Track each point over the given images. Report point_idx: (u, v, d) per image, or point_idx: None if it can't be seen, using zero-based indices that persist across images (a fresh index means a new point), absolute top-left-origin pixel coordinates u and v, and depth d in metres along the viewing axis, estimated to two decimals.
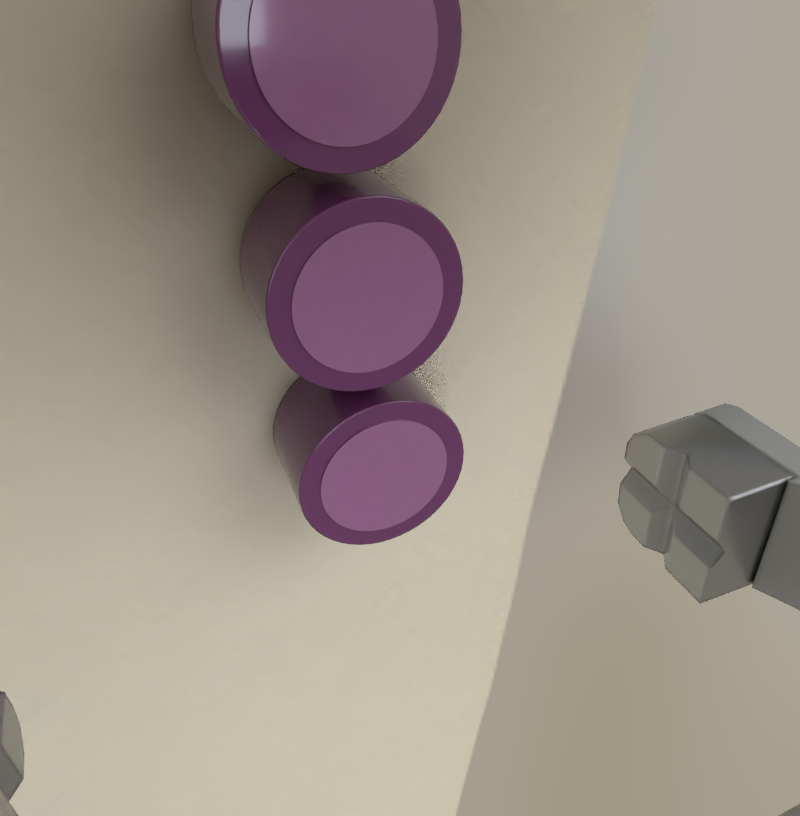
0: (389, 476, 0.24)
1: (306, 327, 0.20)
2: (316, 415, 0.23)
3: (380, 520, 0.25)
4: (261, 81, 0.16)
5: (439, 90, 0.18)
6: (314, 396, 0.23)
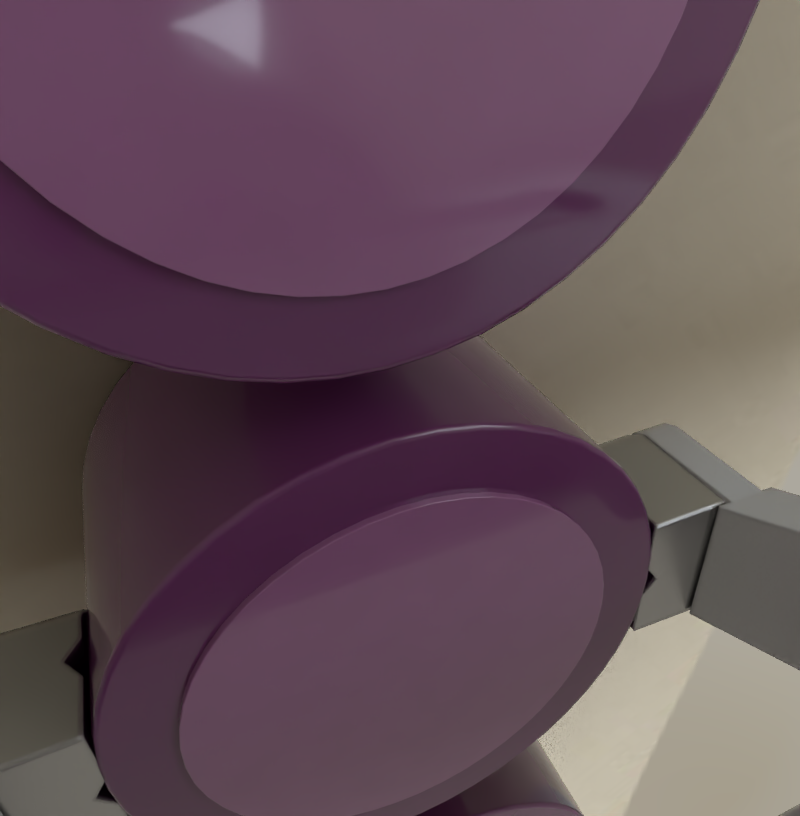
0: None
1: (231, 765, 0.07)
2: None
3: None
4: None
5: (689, 84, 0.05)
6: None
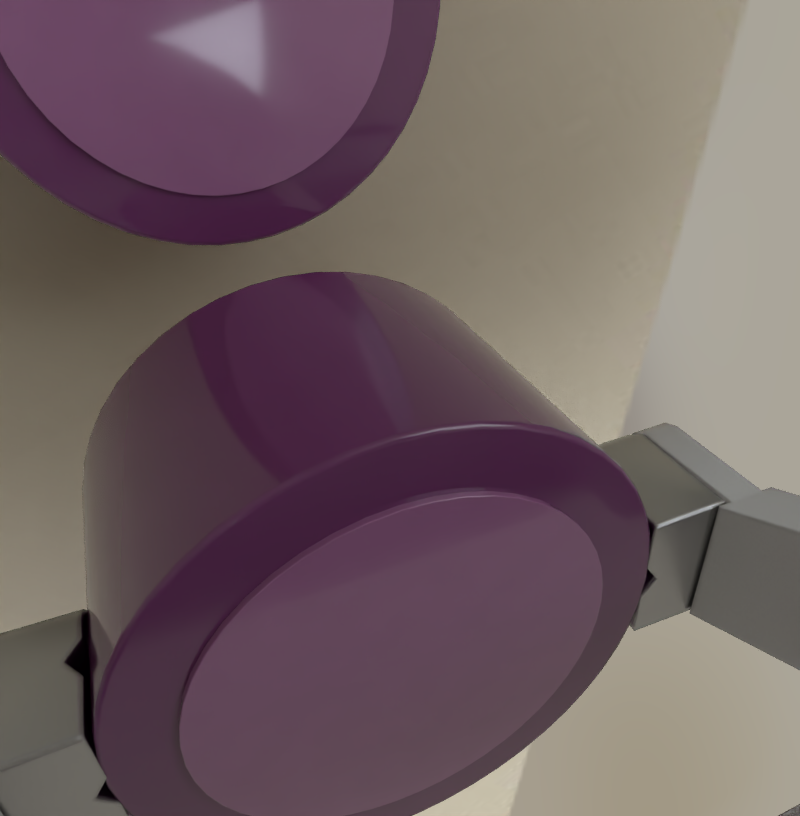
0: None
1: (231, 763, 0.07)
2: None
3: None
4: (16, 64, 0.08)
5: (400, 89, 0.09)
6: None
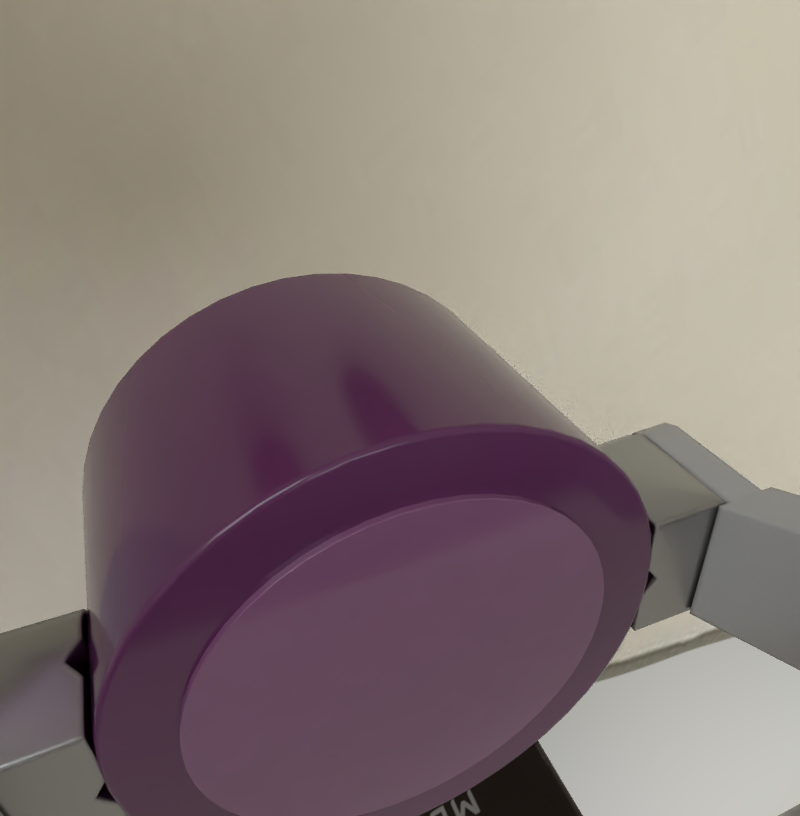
0: None
1: (232, 765, 0.07)
2: None
3: None
4: None
5: None
6: None
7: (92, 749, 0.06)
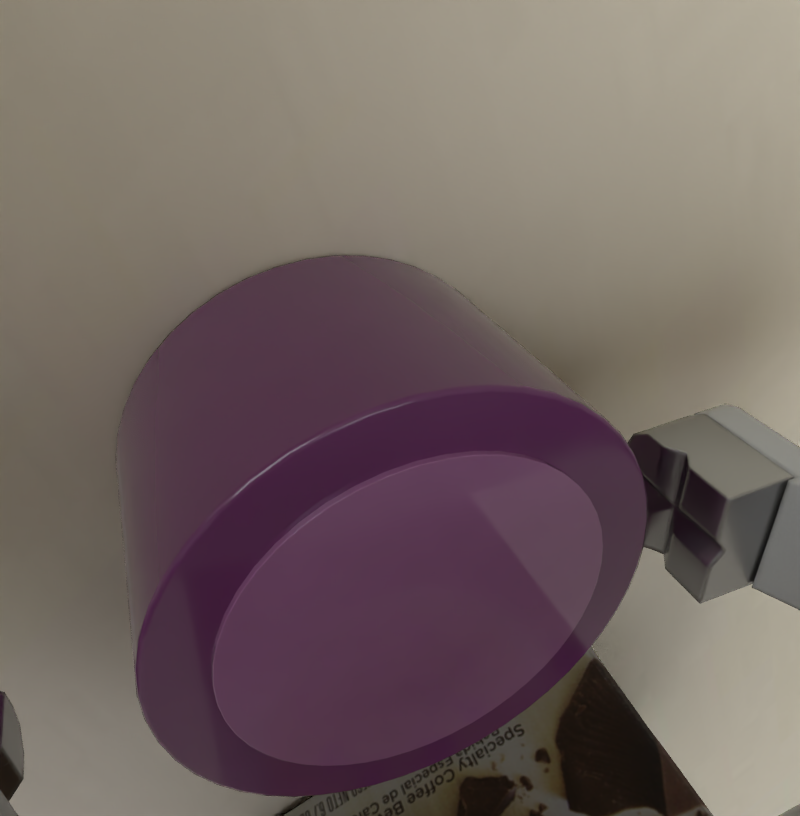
0: None
1: (258, 704, 0.07)
2: None
3: None
4: None
5: None
6: None
7: None
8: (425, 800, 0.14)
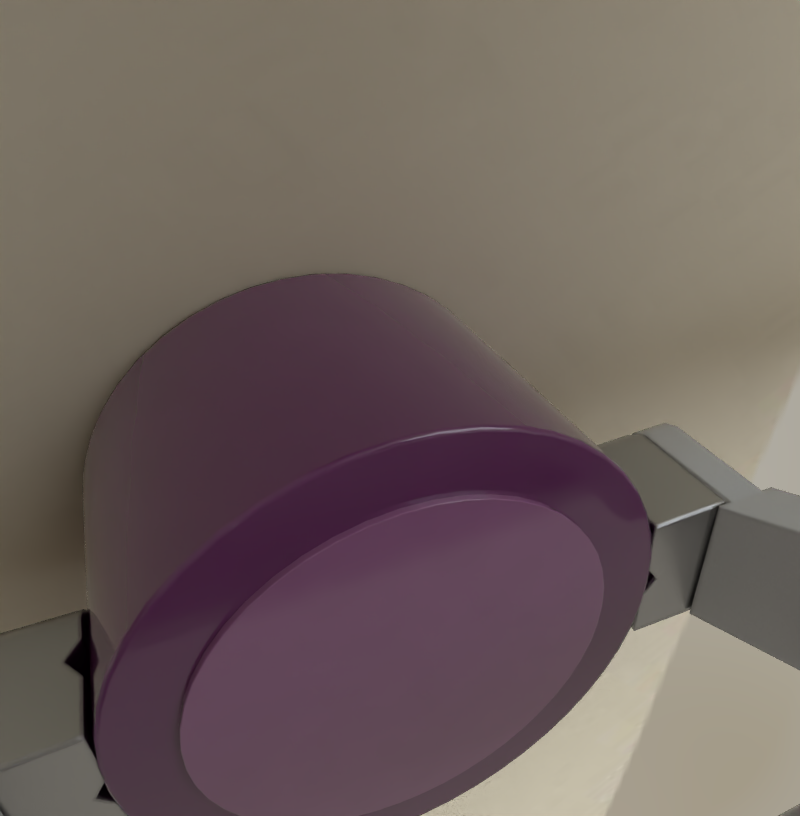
0: (425, 668, 0.07)
1: None
2: (163, 477, 0.06)
3: (393, 780, 0.08)
4: None
5: None
6: (172, 406, 0.07)
7: (91, 749, 0.06)
8: None
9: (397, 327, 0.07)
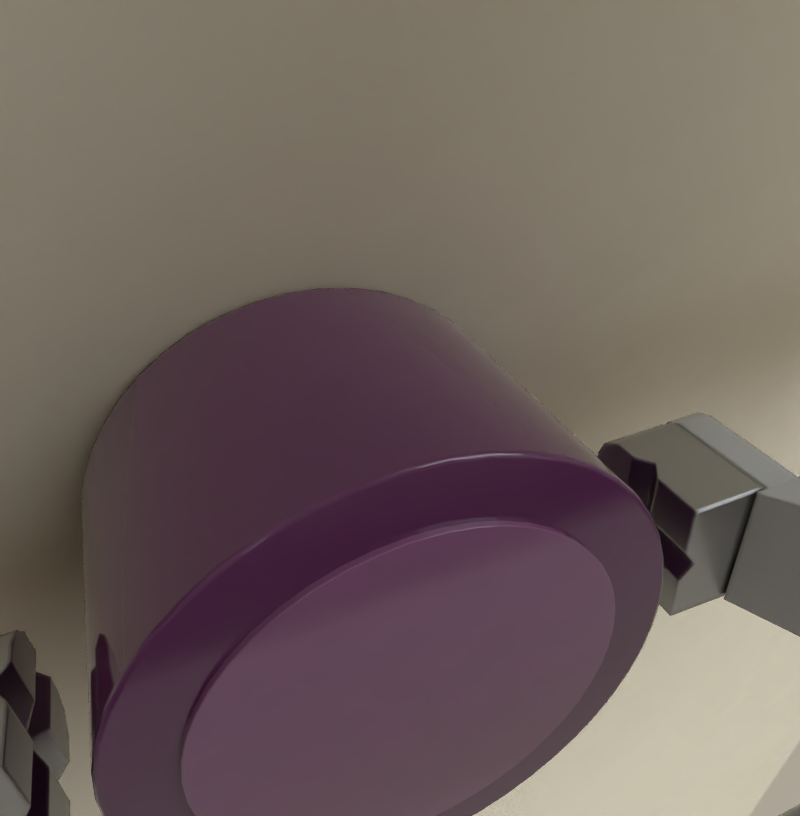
0: (433, 695, 0.07)
1: None
2: (164, 504, 0.06)
3: (398, 806, 0.08)
4: None
5: None
6: (174, 428, 0.07)
7: (12, 779, 0.06)
8: None
9: (403, 345, 0.07)
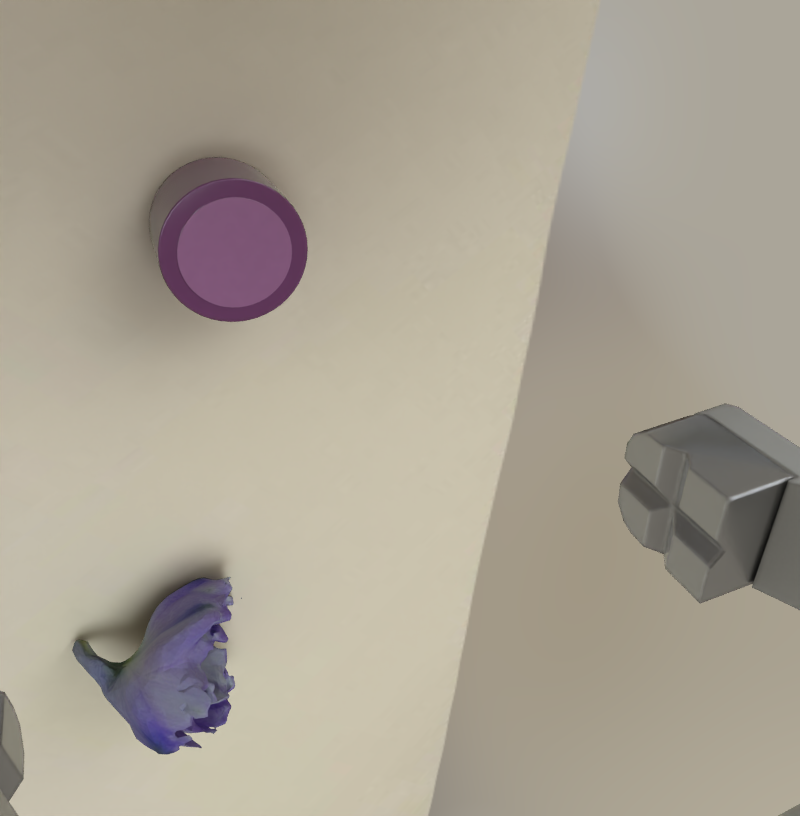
0: (240, 254, 0.28)
1: None
2: (173, 194, 0.27)
3: (236, 298, 0.29)
4: None
5: None
6: (175, 183, 0.28)
7: None
8: None
9: (233, 166, 0.28)
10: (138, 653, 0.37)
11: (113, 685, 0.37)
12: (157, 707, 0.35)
